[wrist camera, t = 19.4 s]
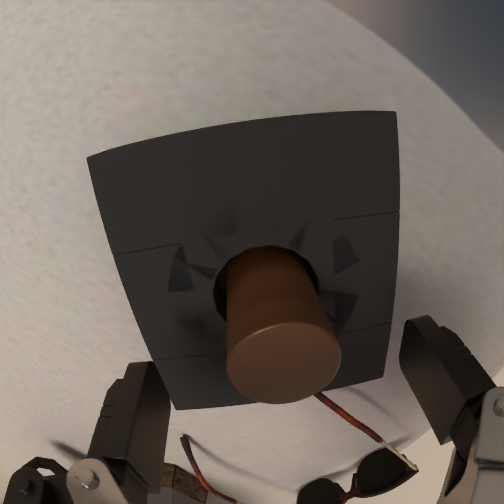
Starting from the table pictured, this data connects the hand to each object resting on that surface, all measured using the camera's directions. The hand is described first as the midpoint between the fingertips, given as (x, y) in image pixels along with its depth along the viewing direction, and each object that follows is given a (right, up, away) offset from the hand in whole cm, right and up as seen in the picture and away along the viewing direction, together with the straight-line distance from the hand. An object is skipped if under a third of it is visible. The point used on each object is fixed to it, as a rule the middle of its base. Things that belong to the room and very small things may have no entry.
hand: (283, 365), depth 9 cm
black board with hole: (0, +3, +6) cm, 7 cm away
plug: (0, +3, +6) cm, 7 cm away
